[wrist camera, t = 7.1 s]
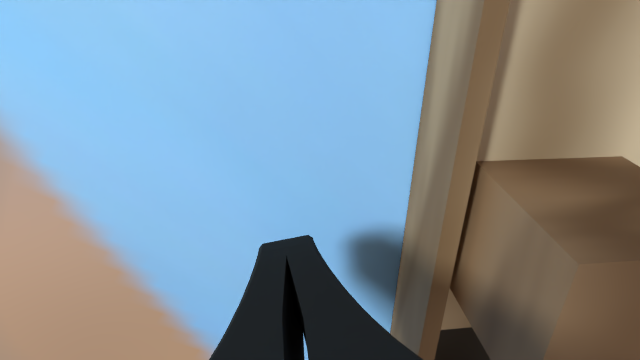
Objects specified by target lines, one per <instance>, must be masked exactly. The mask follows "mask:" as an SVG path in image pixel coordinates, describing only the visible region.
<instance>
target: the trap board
mask: <svg viewBox="0 0 640 360" xmlns="http://www.w3.org/2000/svg"><path fill="white" fill-rule="evenodd" d="M615 156H622V157H624V158H626V159H628V160H629V161H631V162H633V163H634V164H636V165H638V166H639V167H640V0H437V3H436V10H435V17H434V24H433V32H432V39H431V46H430V53H429V60H428V67H427V74H426V82H425V89H424V96H423V103H422V110H421V117H420V124H419V132H418V139H417V146H416V153H415V160H414V167H413V174H412V182H411V189H410V196H409V203H408V210H407V217H406V224H405V232H404V239H403V246H402V253H401V260H400V267H399V274H398V282H397V289H396V296H395V303H394V310H393V317H392V325H391V332H390V334H391V335H392V336H393V337H394V338H396V339H397V340H398V341H399V342H401V343H402V344H403V345H405V346H406V347H407V348H409V349H410V350H411V351H413V352H414V353H415V354H417V355H418V356H419V357H421V358H422V359H423V360H490V358H489V356H488V354H487V353H486V351H485V349H484V347H483V346H482V344H481V342H480V340H479V339H478V337H477V335H476V333H475V332H474V330H473V328H472V326H471V325H470V323H469V321H468V319H467V318H466V316H465V314H464V312H463V311H462V309H461V307H460V305H459V304H458V302H457V300H456V298H455V297H454V295H453V293H452V291H451V290H450V284H451V279H452V274H453V269H454V265H455V260H456V255H457V250H458V246H459V241H460V236H461V232H462V227H463V222H464V217H465V213H466V208H467V203H468V198H469V194H470V189H471V184H472V180H473V175H474V170H475V165H476V161H500V160H528V159H557V158H586V157H615Z"/></svg>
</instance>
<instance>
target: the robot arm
mask: <svg viewBox="0 0 640 360" xmlns="http://www.w3.org/2000/svg"><path fill="white" fill-rule="evenodd" d="M303 333H304V337H305V341H306V345H307V351H308V359H309V360H423V359H422V358H421V357H419V356H418V355H417V354H415V353H414V352H413V351H411V350H410V349H409V348H407V347H406V346H405V345H403V344H402V343H401V342H399V341H398V340H397V339H396V338H394V337H393V336H392V335H391V334H390V333H389V332H387V331H386V330H385V329H384V328H383V327H382V326H381V325H380V324H378V323H377V322H376V321H375V320H374V319H373V318H372V317H371V316H370V315H369V314H368V313H367V312H366V311H365V310H364V309H363V308H362V307H361V306H360V305H359V304H358V303H357V302H356V300H355V299H354V298H353V297H352V296H351V295H350V294H349V293H348V291H347V290H346V289H345V288H344V287H343V285H342V284H341V283H340V282H339V280H338V279H337V278H336V276H335V275H334V274H333V272H332V271H331V270H330V268H329V267H328V265H327V264H326V262H325V261H324V259H323V258H322V256H321V254H320V253H319V251H318V249H317V247H316V245H315V243H314V241H313V238H312V237H310V236H309V235H306V236H300V237H295V238H290V239H285V240H280V241H275V242H270V243H264V244H262V245H261V247H260V248H259V252H258V256H257V259H256V263H255V266H254V269H253V272H252V275H251V277H250V280H249V283H248V285H247V287H246V290H245V292H244V295H243V297H242V299H241V302H240V304H239V306H238V308H237V310H236V312H235V314H234V316H233V318H232V320H231V322H230V324H229V326H228V328H227V330H226V332H225V334H224V336H223V337H222V339H221V341H220V343H219V344H218V346H217V348H216V349H215V351H214V353H213V354H212V356H211V358H210V359H209V360H304V343H303Z"/></svg>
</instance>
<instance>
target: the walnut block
mask: <svg viewBox="0 0 640 360" xmlns="http://www.w3.org/2000/svg"><path fill="white" fill-rule="evenodd" d="M450 290H451V291H452V293H453V295H454V297H455V298H456V300H457V302H458V304H459V305H460V307H461V309H462V311H463V312H464V314H465V316H466V318H467V319H468V321H469V323H470V325H471V326H472V328H473V330H474V332H475V333H476V335H477V337H478V339H479V340H480V342H481V344H482V346H483V347H484V349H485V351H486V353H487V354H488V356H489V358H490V360H640V167H639V166H638V165H636V164H634V163H633V162H631V161H629V160H628V159H626V158H624V157H622V156H615V157H586V158H557V159H528V160H500V161H476V165H475V170H474V175H473V180H472V184H471V189H470V194H469V198H468V203H467V208H466V213H465V217H464V222H463V227H462V232H461V236H460V241H459V246H458V250H457V255H456V260H455V265H454V269H453V274H452V279H451V284H450Z"/></svg>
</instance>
